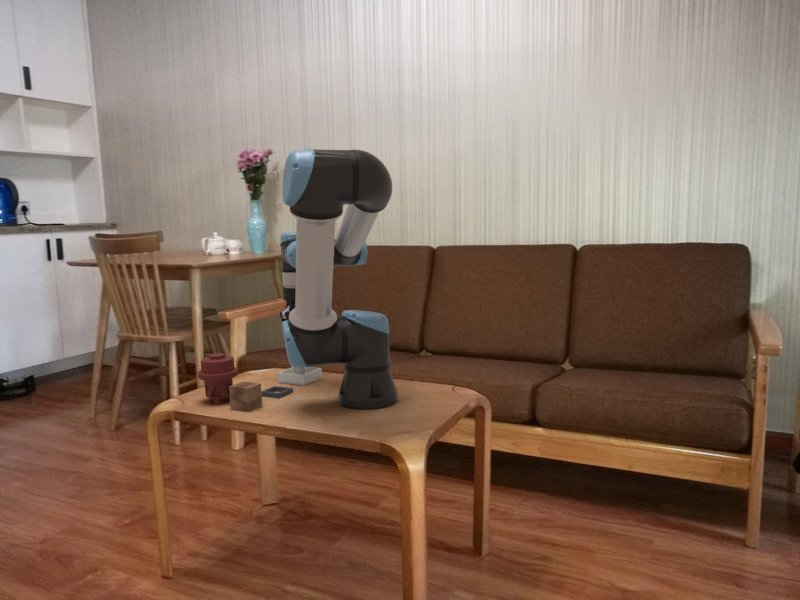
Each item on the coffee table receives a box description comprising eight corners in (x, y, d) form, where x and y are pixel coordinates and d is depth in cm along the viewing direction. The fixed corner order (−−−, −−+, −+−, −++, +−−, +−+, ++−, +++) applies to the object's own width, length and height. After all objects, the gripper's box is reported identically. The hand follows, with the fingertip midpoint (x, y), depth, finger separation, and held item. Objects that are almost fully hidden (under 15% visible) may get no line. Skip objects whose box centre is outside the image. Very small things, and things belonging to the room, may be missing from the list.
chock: (262, 406, 159) (260, 383, 158) (249, 412, 154) (247, 388, 153) (243, 404, 161) (242, 381, 161) (230, 409, 157) (229, 386, 156)
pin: (307, 377, 184) (305, 337, 183) (301, 380, 182) (299, 339, 180) (298, 376, 186) (296, 337, 184) (292, 379, 183) (290, 338, 181)
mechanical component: (220, 408, 158) (191, 403, 163) (247, 397, 167) (219, 393, 172) (217, 360, 157) (188, 357, 161) (244, 352, 165) (216, 349, 170)
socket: (293, 392, 171) (292, 388, 171) (279, 398, 165) (278, 393, 165) (274, 390, 174) (274, 385, 174) (260, 395, 168) (260, 391, 168)
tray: (322, 378, 186) (321, 368, 185) (304, 385, 177) (303, 375, 177) (296, 375, 190) (296, 365, 189) (278, 382, 182) (277, 372, 181)
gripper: (301, 283, 189) (304, 359, 192) (267, 289, 175) (272, 371, 178) (322, 283, 185) (325, 361, 189) (289, 289, 171) (293, 373, 174)
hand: (299, 365), depth 183 cm, fingers closed on pin, 3 cm apart
